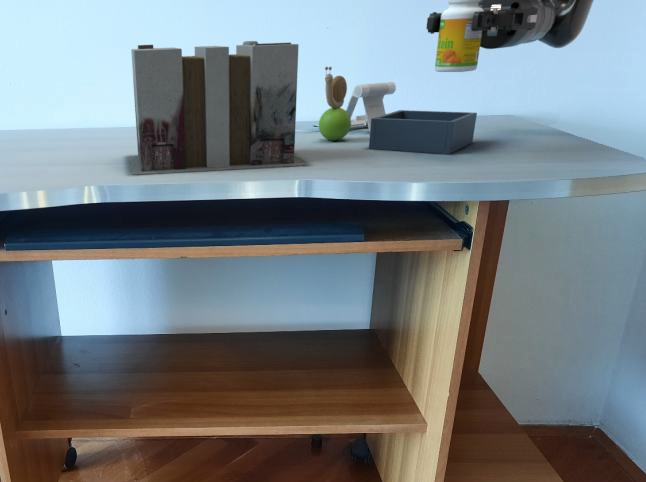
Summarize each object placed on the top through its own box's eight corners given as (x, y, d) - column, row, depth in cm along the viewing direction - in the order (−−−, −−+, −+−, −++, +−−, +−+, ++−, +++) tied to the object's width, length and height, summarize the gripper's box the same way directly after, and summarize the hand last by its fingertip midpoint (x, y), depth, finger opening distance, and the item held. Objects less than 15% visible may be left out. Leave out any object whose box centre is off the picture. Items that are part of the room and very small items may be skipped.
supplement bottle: (426, 71, 89) (434, -8, 85) (458, 68, 91) (468, -10, 86) (451, 72, 85) (462, -11, 80) (485, 70, 86) (497, -13, 82)
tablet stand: (365, 126, 126) (369, 80, 122) (396, 130, 120) (401, 82, 116) (332, 130, 122) (335, 83, 118) (363, 135, 116) (367, 85, 112)
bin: (472, 142, 104) (477, 112, 102) (449, 154, 95) (454, 121, 93) (396, 138, 111) (399, 110, 109) (368, 148, 102) (371, 118, 100)
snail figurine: (309, 142, 110) (312, 66, 105) (327, 137, 115) (331, 64, 109) (337, 144, 107) (342, 66, 102) (355, 139, 111) (361, 64, 106)
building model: (129, 156, 103) (121, 45, 96) (281, 148, 105) (284, 39, 98) (132, 174, 89) (123, 46, 82) (307, 165, 91) (313, 39, 84)
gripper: (463, -7, 97) (405, -7, 87) (565, -14, 87) (514, -15, 77) (455, 48, 100) (399, 54, 90) (554, 46, 91) (503, 53, 80)
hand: (452, 22), depth 83 cm, fingers closed on supplement bottle, 5 cm apart
